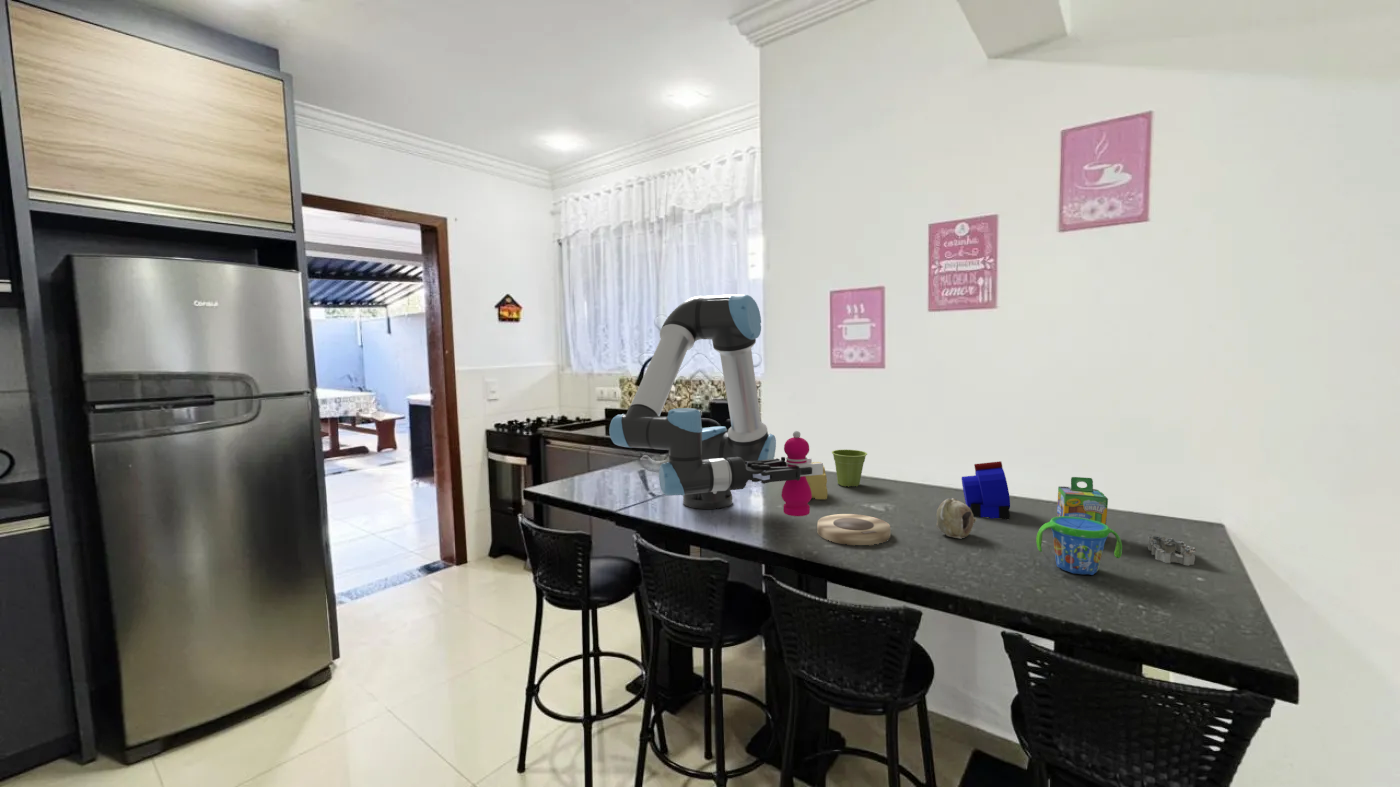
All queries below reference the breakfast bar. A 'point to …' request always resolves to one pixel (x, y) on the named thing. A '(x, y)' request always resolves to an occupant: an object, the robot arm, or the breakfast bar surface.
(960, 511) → the sea shell
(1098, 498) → the chalk box
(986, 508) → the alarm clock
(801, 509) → the pepper mill
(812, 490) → the cheese
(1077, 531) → the snack cup
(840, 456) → the plant pot
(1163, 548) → the egg carton
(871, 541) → the oak base
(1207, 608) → the breakfast bar surface
